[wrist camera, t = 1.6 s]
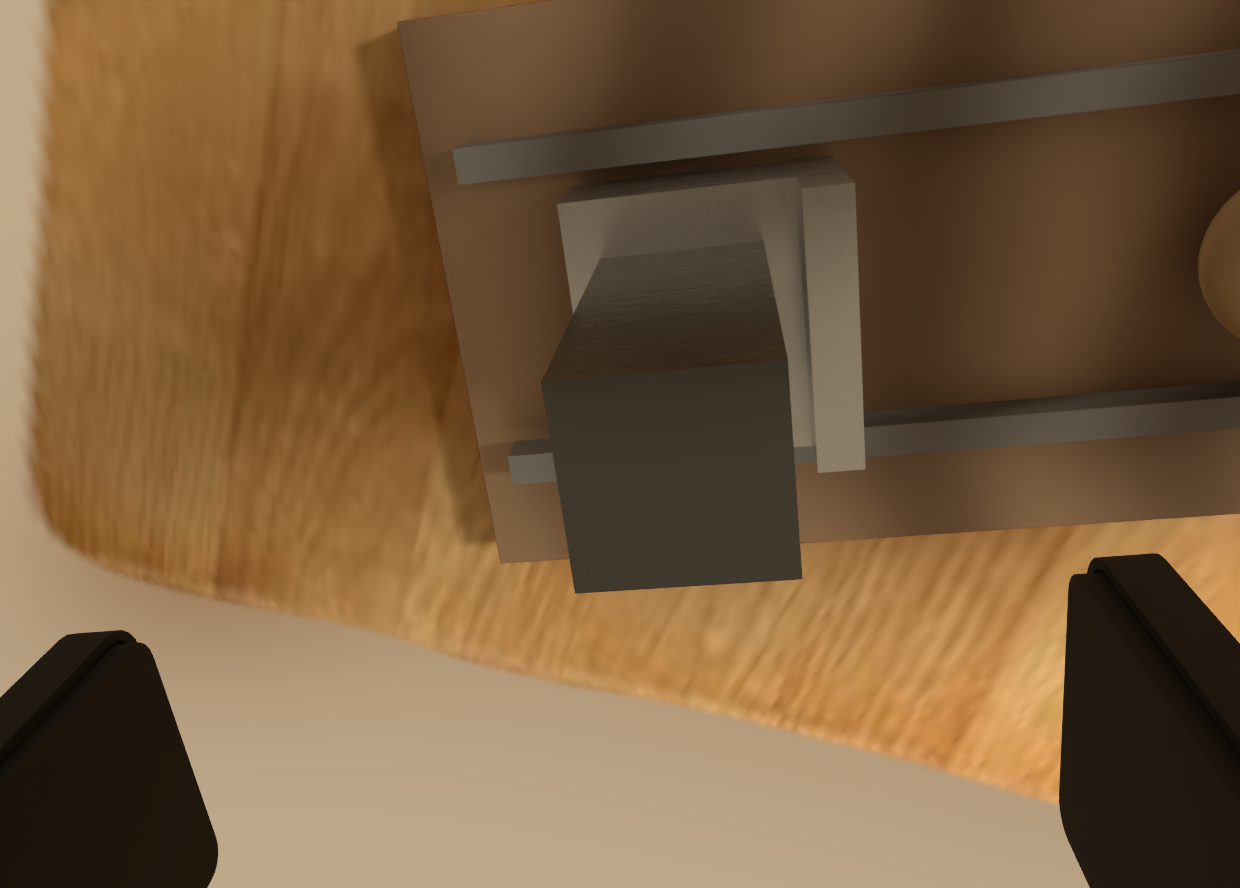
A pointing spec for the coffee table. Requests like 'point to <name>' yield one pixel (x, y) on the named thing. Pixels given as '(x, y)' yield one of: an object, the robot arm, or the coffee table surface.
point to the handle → (703, 370)
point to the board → (883, 233)
